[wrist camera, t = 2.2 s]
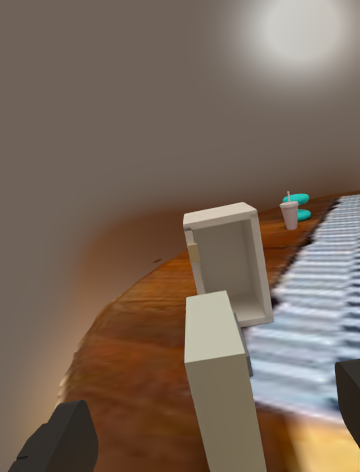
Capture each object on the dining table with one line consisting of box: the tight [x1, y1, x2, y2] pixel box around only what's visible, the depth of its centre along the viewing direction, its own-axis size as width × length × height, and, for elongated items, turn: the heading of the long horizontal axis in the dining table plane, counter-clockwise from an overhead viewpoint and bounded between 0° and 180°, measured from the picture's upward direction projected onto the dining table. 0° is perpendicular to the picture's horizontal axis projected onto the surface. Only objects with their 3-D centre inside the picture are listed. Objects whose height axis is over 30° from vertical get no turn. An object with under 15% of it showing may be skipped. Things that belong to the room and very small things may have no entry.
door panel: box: [185, 290, 267, 472], centre depth 25 cm, size 4×10×16 cm, turn 178°
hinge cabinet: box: [183, 202, 274, 376], centre depth 48 cm, size 14×24×20 cm, turn 178°
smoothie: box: [280, 191, 298, 230], centre depth 104 cm, size 6×6×14 cm
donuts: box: [283, 194, 311, 221], centre depth 117 cm, size 10×10×10 cm
